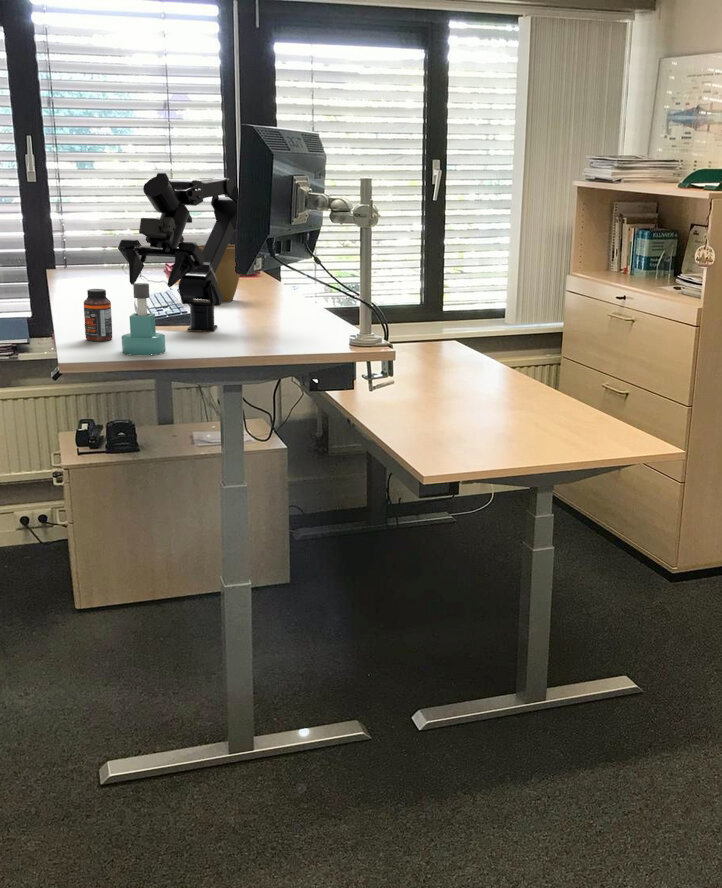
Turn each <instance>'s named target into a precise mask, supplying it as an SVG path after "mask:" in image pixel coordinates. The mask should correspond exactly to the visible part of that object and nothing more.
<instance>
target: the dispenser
mask: <svg viewBox="0 0 722 888" xmlns="http://www.w3.org/2000/svg"><path fill="white" fill-rule="evenodd" d="M156 329H157V328H156V314H155V312H154V313H153V312H152V313H149V312H147V316H138V312H134V313H132V314H131V315H129V331H130V332H129V333H126V334H122V335H121V347H122V348H121V349H122V350H121V351H122V354H124V353H125V354H124V355H127V354H131V355H130V356H134V355H150V356H152V355H151V354H158V355H161V354H160V353H162V354H164V352H165V351H166V335H165V334H163V333H160V332H156ZM166 352H167V351H166ZM166 352H165V353H166Z"/></svg>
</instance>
